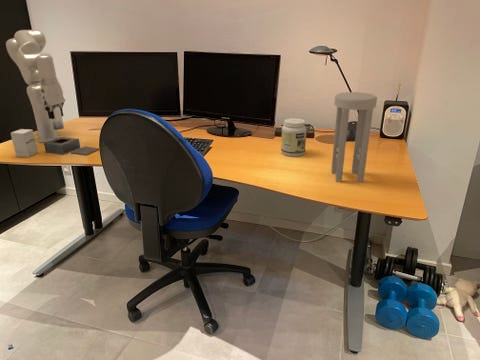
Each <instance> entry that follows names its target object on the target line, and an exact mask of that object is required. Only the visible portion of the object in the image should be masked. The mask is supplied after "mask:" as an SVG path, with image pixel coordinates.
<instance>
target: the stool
mask: <svg viewBox="0 0 480 360" xmlns="http://www.w3.org/2000/svg"><path fill="white" fill-rule="evenodd" d="M377 102H378V98H377V96H376V95H374V94H372V93H368V92H358V91H352V92H351V91H347V92H340V93H337V94H335V96H334V105H335V107H337V108H336V118H335V127H334V128H335V129H334V135H333V136H334V139H333V148H332V158H331V159H332V160H331V169H330V172H331V174H335V178H334V180H335V182H336V183H342V182H343V173H344V164H345V163H344V162H345V154H346V147H347V146H346V145H347V136H348V129H349V128H348V127H349V120H350V119H349V117H350V110H352V111H358V115H357V123H356V131H355V138H354V148H353V155H352V156H353V158H352V164H351V173H352V174H354V175H356V174H357V175H356V181H357V182H358V183H364V181H365V180H364V179H365V173H366V166H367V157H368V150H369V144H370V143H369V142H370V135H371V127H372V121H373V115H374V114H373V113H374V109H375V108H376V107H377Z"/></svg>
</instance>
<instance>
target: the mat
mask: <svg viewBox="0 0 480 360" xmlns="http://www.w3.org/2000/svg"><path fill="white" fill-rule="evenodd" d="M98 151H100V150H99V147H92V146H82V147H80V148H79V149H76V150H74V151H72V152H70V154H72V155H79V156H80V155H81V156H85V157H86V156H89V155H92V154H93V153H95V152H98Z"/></svg>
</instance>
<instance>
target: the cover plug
mask: <svg viewBox="0 0 480 360" xmlns="http://www.w3.org/2000/svg"><path fill="white" fill-rule="evenodd" d="M52 111H53V113H54V118H55V119H51V121H52V126H53V129H54V130H57V131H58V130H60V131H61V130H63V129H65V125H64V122H63V121H64V120H63V116H62V115H61V110H60V105H59V104H57V105H53V106H52Z"/></svg>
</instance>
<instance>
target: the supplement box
mask: <svg viewBox="0 0 480 360" xmlns="http://www.w3.org/2000/svg"><path fill="white" fill-rule="evenodd" d="M10 136H11V137H10V138H11V141H12V144H13V149H14V152H15V153H14V154H15V157H19V158H30V157H32V156H34V155H35V154H38V153H39V151H38V146H37V141H36V138H35V134H34V130H33V129H24V128H19V129H18V130H15V131H12V132H10Z"/></svg>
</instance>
